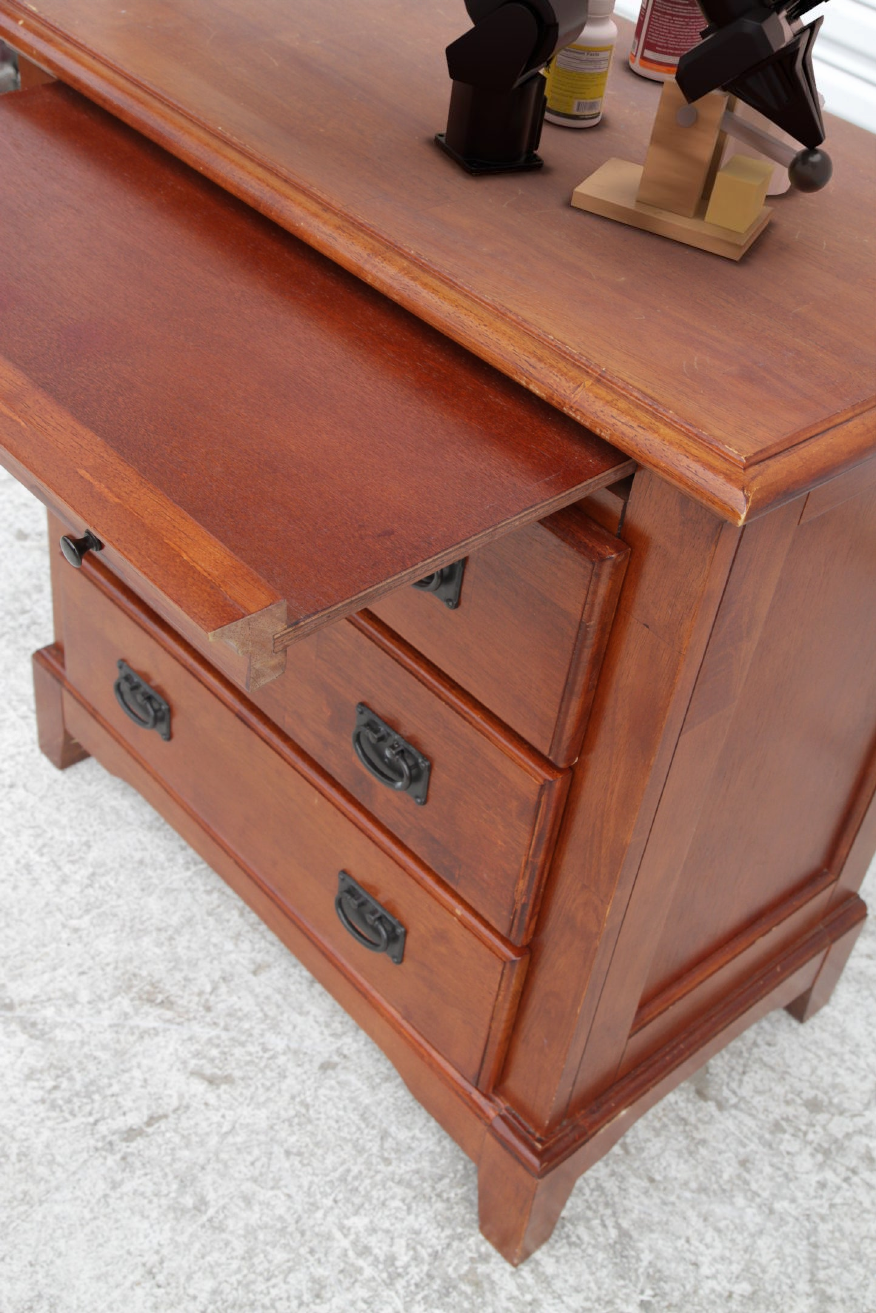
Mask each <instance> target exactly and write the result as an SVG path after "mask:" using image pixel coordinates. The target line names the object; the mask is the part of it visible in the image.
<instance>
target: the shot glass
mask: <svg viewBox="0 0 876 1313" xmlns="http://www.w3.org/2000/svg"><path fill="white" fill-rule="evenodd" d="M817 93H818V98H819V104H820V109H821V112H822V111H823V108H824V106H825V104H826V100H825V97H824V95H823V94H822V93H821V92H819V91H818V90H817ZM736 115H737V116H739V117H740V118H742V119H744V120H746V121H747V122H749V123H751V124H752V125H754V126H756V127H758V128H759V129H761V130H763V131H764V132H766V133H768V134H769V135H771V136H773V137H775V138H776V139H778V140H780V141H781V142H783V143H785V144H787V145H788V146H790V147H792V148H793V149H795V150H797V151H800V150H802V149H804V148H806V147H805V146H804V145H802V144H801V143H800V142H798V141H797V140H796V139H794V138H793V137H792V136H790V135H789V134H788V133H786V132H785V131H784V130H782V129H781V128H780V127H778V126H777V125H776V124H774V123H773V122H772V121H770V120H769V119H767V118H766V117H765V116H763V115H762V114H761V113H759V112H758V111H756V110H755V109H753V108H752V107H750V106H749V105H748V104H746V103H745V102H743V101H742V100H740V102H739V105H738V109H737V112H736ZM735 154H738V155H742V156H745V157H748V158H751V159H754V160H758V161H761V162H764V163H767V164H770V165H774V166H775V168H774V171H773V174H772V177H771V181H770V184H769V187H768V190H767V193H766V196H777V195H781V194H786V192H787V191H788V190H789V189H790V186H791V185H792V184H791V183H790V181H789V178H788V169H787V168H786V167H784V166H782V165H781V164H779V163H777V162H776V161H774V160H772V159H770V158H769V157H767V156H765V155H764V154H762V153H760V152H758V151H757V150H755V149H753V148H752V147H750V146H748V145H747V144H745V143H743V142H741V141H740V140H738V139H736V138H735V137H733V136H731V135H730V137H729V141H728V144H727V148H726V151H725V155H724V159H723V162H722V166H721V169H722V168H723V167H724V166H725V165H726V163H727V162H728V161H729V160H730V159H731V158H732V157H733V156H734V155H735ZM721 169H720V170H721Z"/></svg>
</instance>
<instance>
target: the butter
mask: <svg viewBox="0 0 876 1313" xmlns="http://www.w3.org/2000/svg"><path fill="white" fill-rule="evenodd" d="M774 168H775V166H774V165H770V164H767V163H764V162H761V161H758V160H754V159H751V158H748V157H745V156H742V155H738V154H735V155H734V156H733V157H732V158H731V159H730V160H729V161H728V162H727V163H726V165H725V166H724V167H723V168H722V169H721V170H720V171H719V172H718V173H717V177H716V180H715V184H714V188H713V191H712V195H711V198H710V202H709V205H708V209H707V212H706V216H705V220H704V221H705V222H708V223H711V224H714V225H717V226H720V227H724V228H727V229H730V230H733V231H736V232H739V233H742V234H744V232H745V231H746V230H747V229H748V228H749V226H750V225H751V224H752V223H753V222H754V220H755V219H756V218H757V217H758V215H759V214H760V213H761V210H762V206H763V205H764V202H765V200H766V197H767V195H766V193H767V190H768V187H769V184H770V181H771V177H772V174H773V171H774Z"/></svg>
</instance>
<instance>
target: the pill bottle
mask: <svg viewBox="0 0 876 1313" xmlns="http://www.w3.org/2000/svg"><path fill="white" fill-rule="evenodd" d="M637 17H638V18H637V22H636V26H635V30H634V34H633V41H632V44H631V50H630V54H629V61H628V63H629V67H630V69H631V70H633V71H634V72H635V73H636V74H638V75H640V76H642V77H644V78H647V79H650V80H653V81H658V82H662V83H664V81H665V79H666V78H667V77H669V76H672V77H675V75H676V71H677V66H678V62H679V58H680V57H681V56H682V55H683V54H684V53H686V52H687V51H688V50H690V49H691V48H692V47H693V46H695V45H696V44H697V43H699V42H701V41H702V38H701V36H700V34H699V32H701V31H702V30H703V29H704V28H706V27H707V24H706V22H705V20H704V18H703V16H702V14H701V12H700V10H699V8H698V6H697V4H696V2H695V0H641V3H640V8H639V12H638V16H637Z"/></svg>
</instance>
